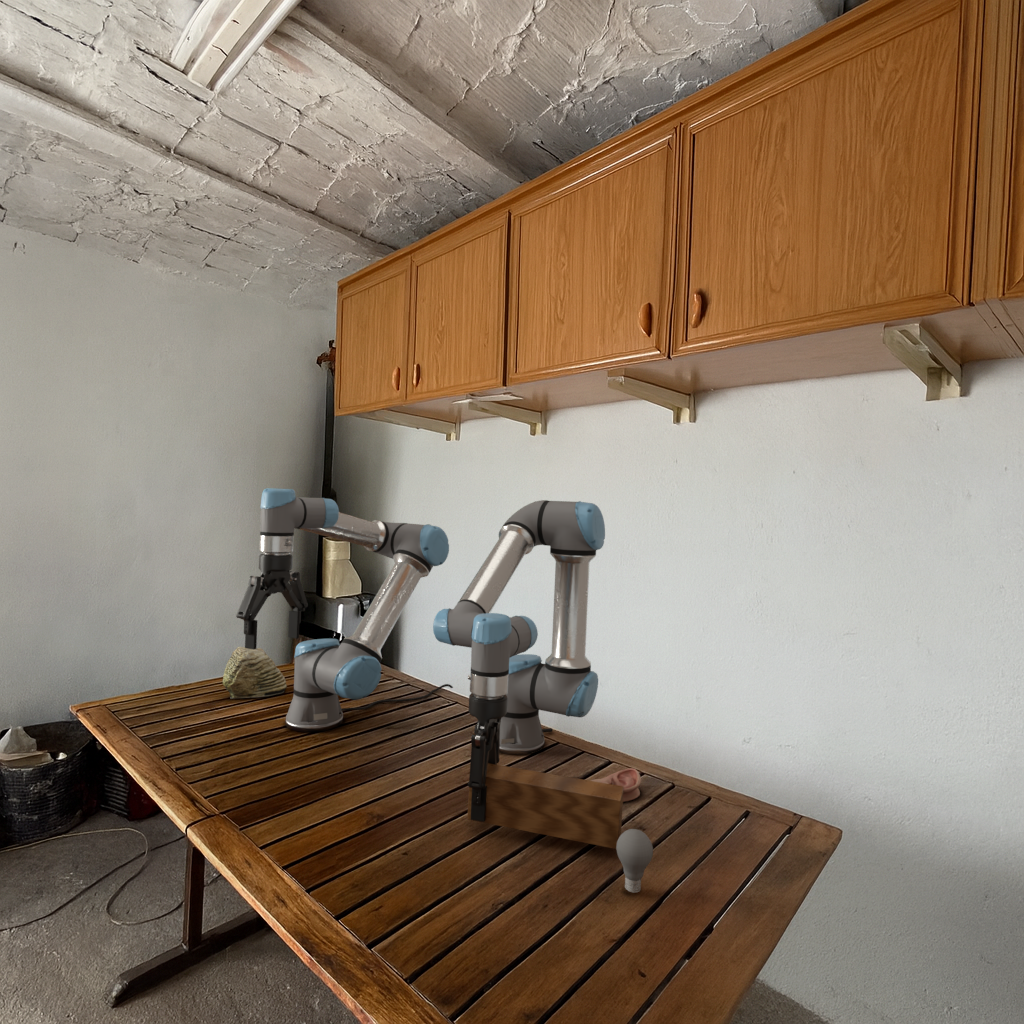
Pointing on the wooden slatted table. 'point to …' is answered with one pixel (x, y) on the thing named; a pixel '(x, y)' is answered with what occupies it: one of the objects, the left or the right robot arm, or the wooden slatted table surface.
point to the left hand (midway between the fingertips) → (272, 643)
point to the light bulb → (634, 857)
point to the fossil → (252, 674)
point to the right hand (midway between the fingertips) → (482, 811)
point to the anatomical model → (624, 782)
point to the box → (553, 805)
